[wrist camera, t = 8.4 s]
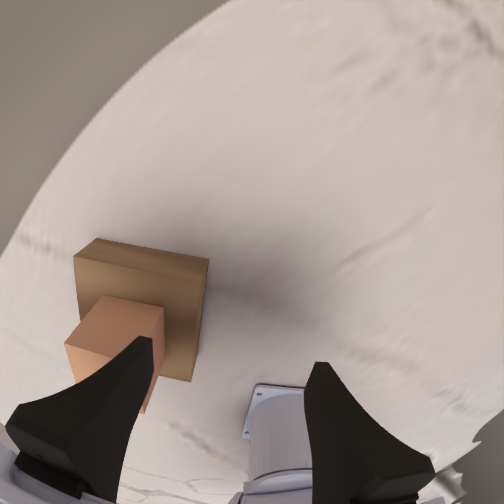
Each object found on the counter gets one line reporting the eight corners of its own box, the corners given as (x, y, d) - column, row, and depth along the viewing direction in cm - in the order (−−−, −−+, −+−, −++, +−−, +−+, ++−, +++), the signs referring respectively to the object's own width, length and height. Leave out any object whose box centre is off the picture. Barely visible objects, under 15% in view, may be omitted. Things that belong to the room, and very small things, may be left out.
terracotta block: (165, 357, 20) (144, 414, 15) (110, 344, 20) (80, 394, 15) (164, 307, 19) (136, 364, 14) (103, 294, 18) (63, 342, 13)
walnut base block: (198, 350, 25) (190, 382, 21) (104, 328, 25) (86, 355, 21) (209, 256, 22) (200, 282, 18) (99, 236, 21) (73, 256, 17)
